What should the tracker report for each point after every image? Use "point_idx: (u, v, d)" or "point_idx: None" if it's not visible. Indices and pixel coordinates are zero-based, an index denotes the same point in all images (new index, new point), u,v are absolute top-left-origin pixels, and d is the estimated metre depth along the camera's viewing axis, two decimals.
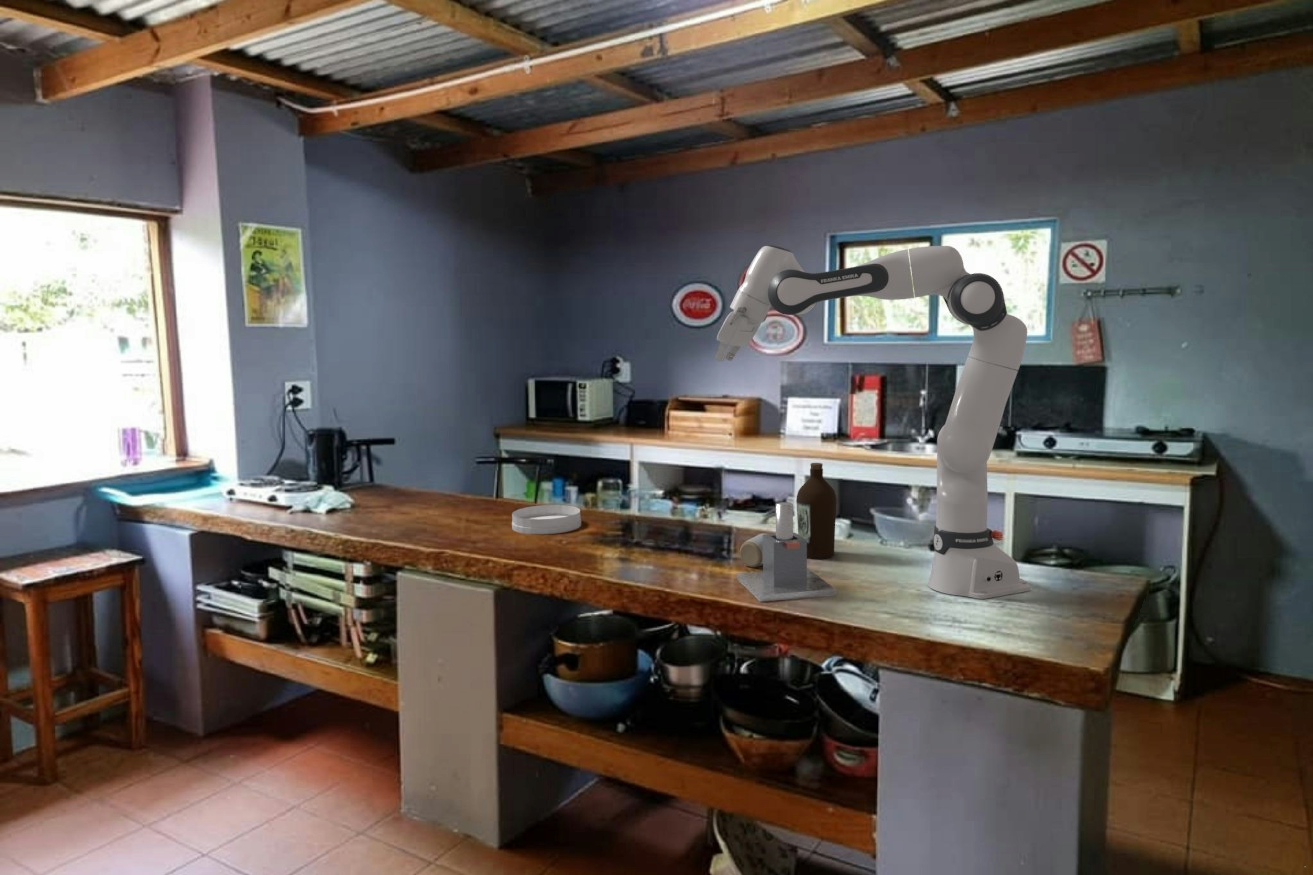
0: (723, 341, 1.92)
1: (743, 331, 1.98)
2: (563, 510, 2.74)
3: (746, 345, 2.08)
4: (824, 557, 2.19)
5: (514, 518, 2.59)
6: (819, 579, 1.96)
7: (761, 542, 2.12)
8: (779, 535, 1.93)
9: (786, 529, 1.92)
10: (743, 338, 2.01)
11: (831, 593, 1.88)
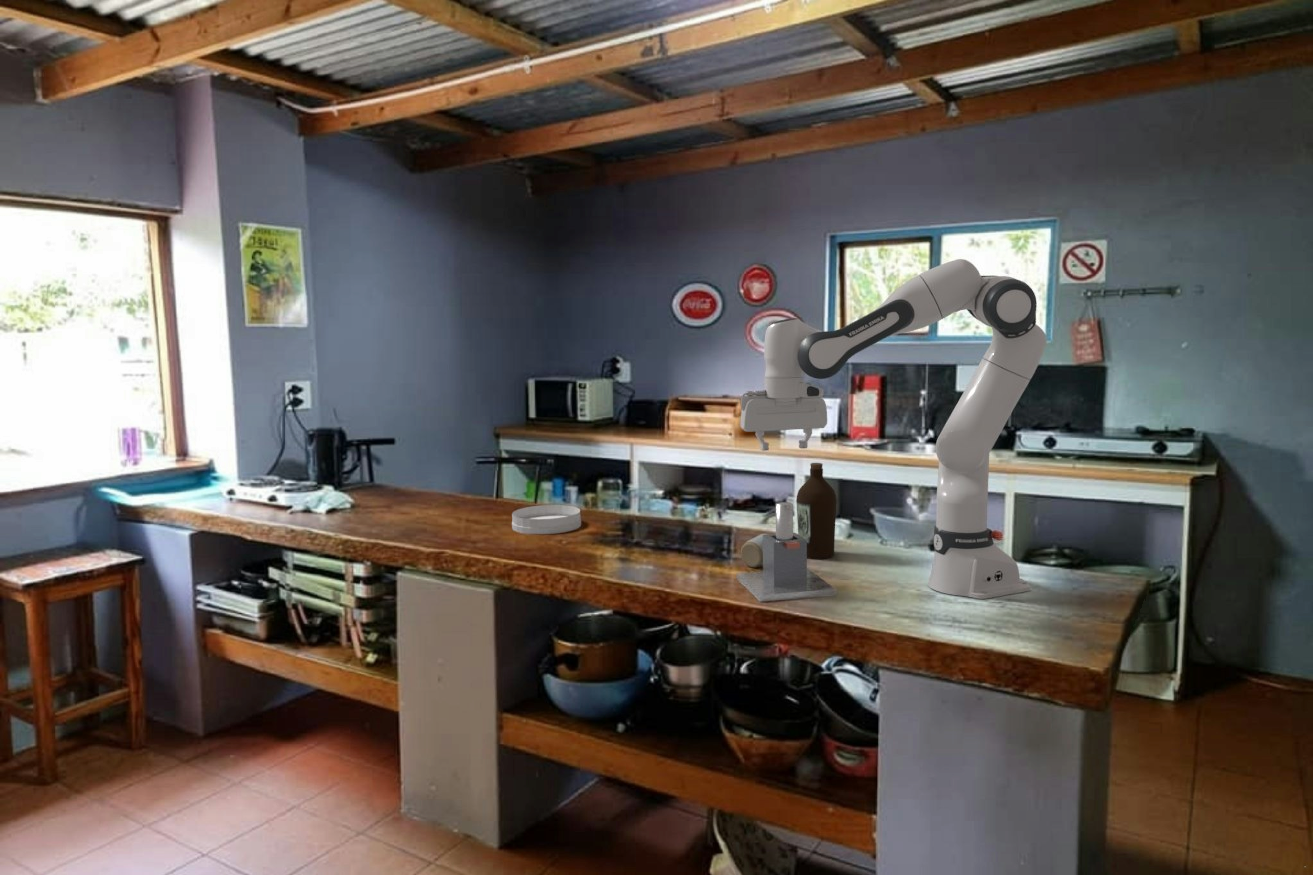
0: (743, 429, 1.89)
1: (777, 413, 1.89)
2: (563, 510, 2.74)
3: (820, 427, 1.91)
4: (824, 557, 2.19)
5: (514, 518, 2.59)
6: (819, 579, 1.96)
7: (762, 542, 2.12)
8: (779, 535, 1.93)
9: (786, 529, 1.92)
10: (791, 420, 1.89)
11: (831, 593, 1.88)
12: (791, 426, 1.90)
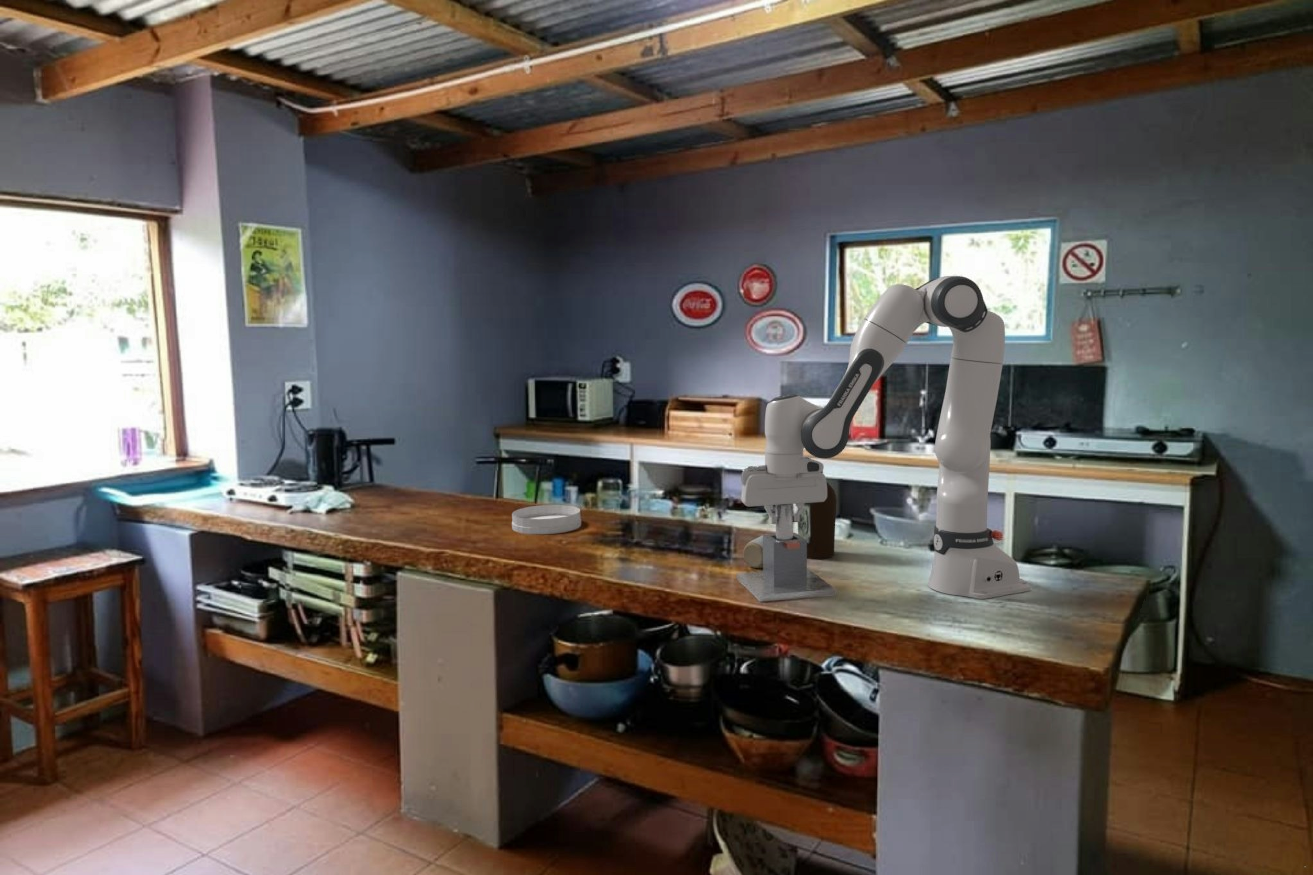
0: (744, 503, 1.91)
1: (777, 488, 1.91)
2: (563, 510, 2.75)
3: (820, 501, 1.93)
4: (824, 557, 2.19)
5: (514, 518, 2.59)
6: (819, 579, 1.96)
7: None
8: (779, 535, 1.93)
9: (786, 529, 1.92)
10: (791, 495, 1.91)
11: (831, 593, 1.88)
12: (791, 500, 1.92)
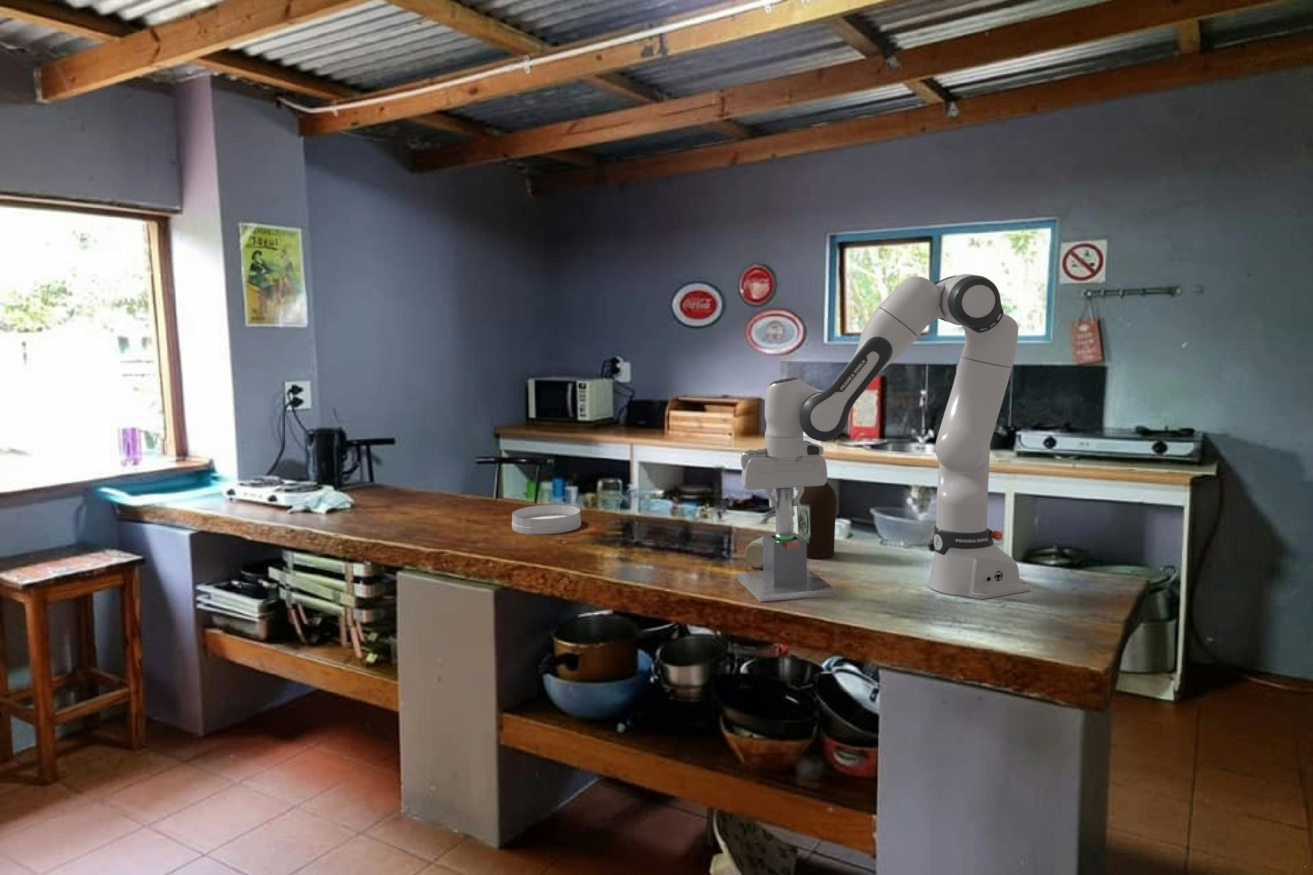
0: (744, 487, 1.91)
1: (777, 471, 1.90)
2: (563, 510, 2.75)
3: (820, 485, 1.93)
4: (824, 557, 2.19)
5: (514, 518, 2.59)
6: (819, 579, 1.96)
7: None
8: (779, 519, 1.92)
9: (786, 513, 1.92)
10: (791, 478, 1.91)
11: (831, 593, 1.88)
12: (791, 484, 1.91)
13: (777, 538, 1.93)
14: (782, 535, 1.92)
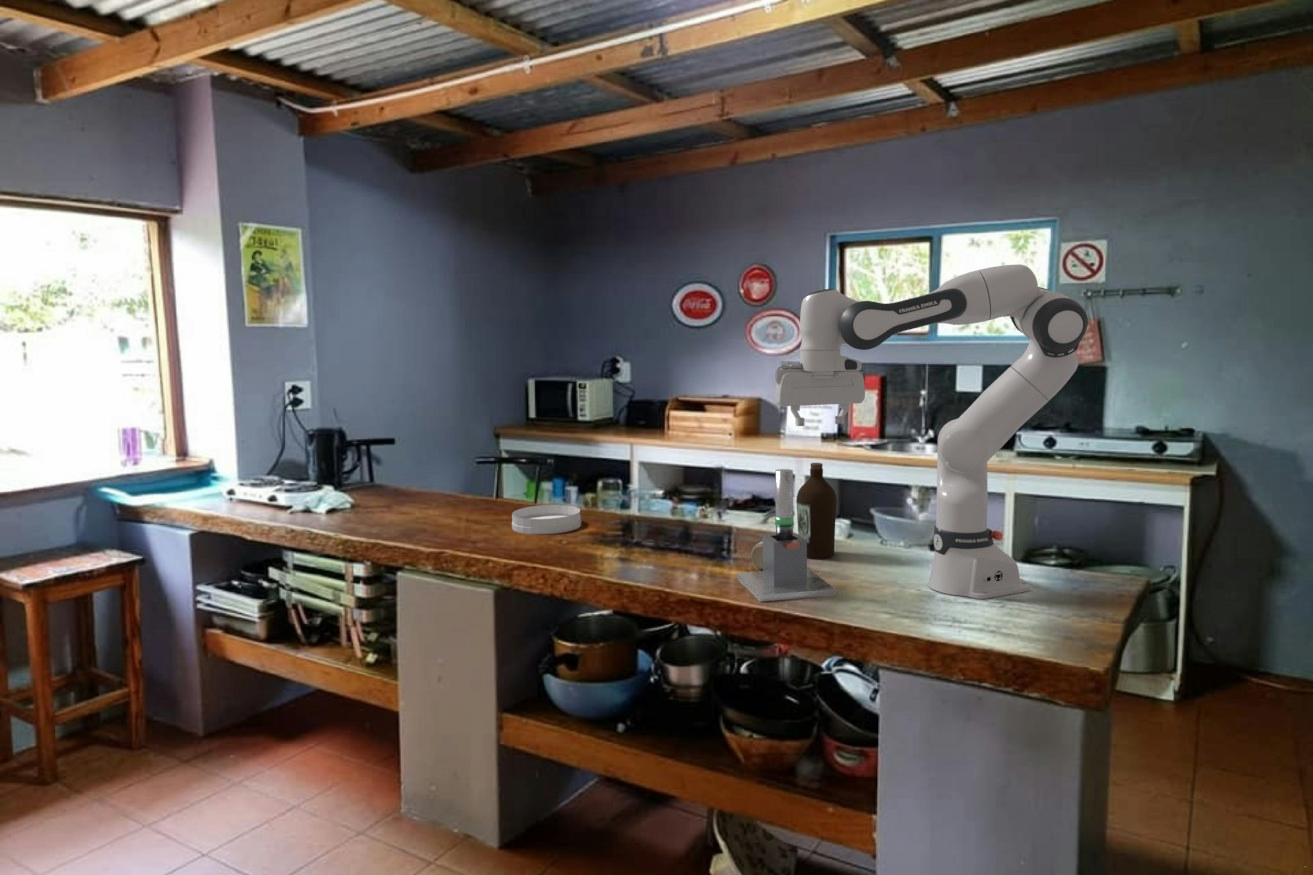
0: (778, 404, 1.83)
1: (813, 387, 1.82)
2: (562, 510, 2.75)
3: (858, 402, 1.85)
4: (824, 557, 2.19)
5: (514, 518, 2.59)
6: (819, 579, 1.96)
7: None
8: (779, 501, 1.92)
9: (785, 496, 1.91)
10: (827, 395, 1.83)
11: (831, 593, 1.88)
12: (828, 401, 1.83)
13: (777, 521, 1.93)
14: (782, 518, 1.92)
